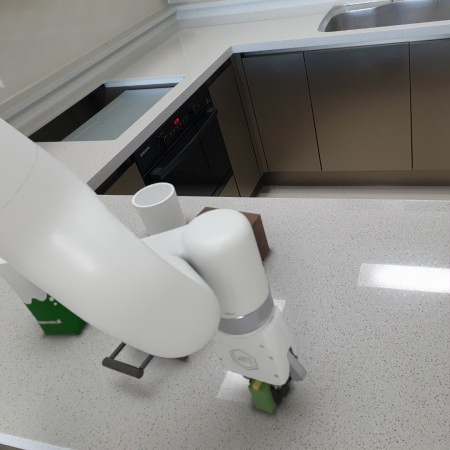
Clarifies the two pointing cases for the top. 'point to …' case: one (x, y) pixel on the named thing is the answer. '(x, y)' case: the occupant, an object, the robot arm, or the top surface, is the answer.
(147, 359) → the drawer
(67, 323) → the milk carton
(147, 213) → the mug
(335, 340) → the top surface
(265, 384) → the green sponge
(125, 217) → the top surface
